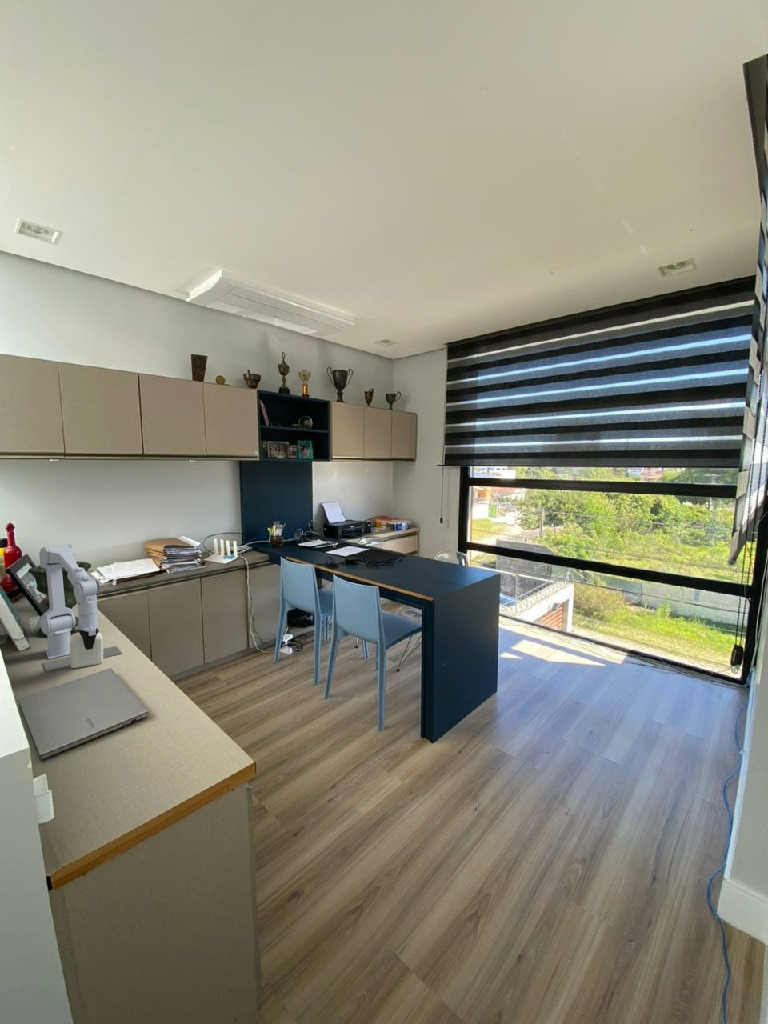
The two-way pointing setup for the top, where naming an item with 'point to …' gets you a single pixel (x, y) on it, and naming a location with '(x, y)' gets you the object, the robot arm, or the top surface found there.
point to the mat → (66, 661)
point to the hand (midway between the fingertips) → (89, 648)
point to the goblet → (69, 593)
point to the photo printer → (85, 652)
